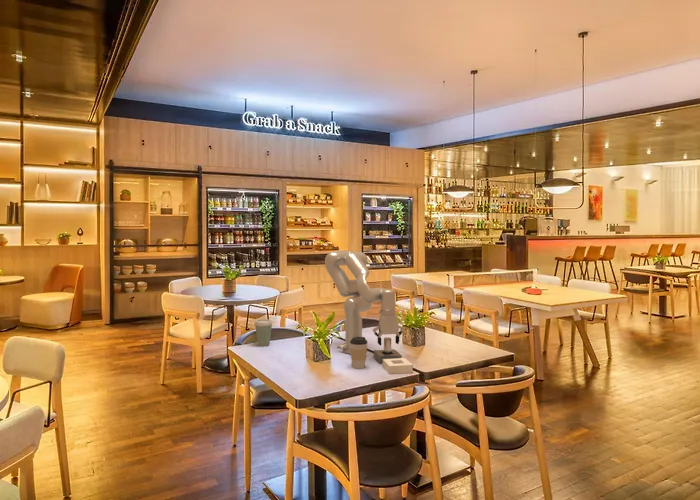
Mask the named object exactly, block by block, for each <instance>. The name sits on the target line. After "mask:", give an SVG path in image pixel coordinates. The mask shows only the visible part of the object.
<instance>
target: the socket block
mask: <svg viewBox="0 0 700 500" xmlns="http://www.w3.org/2000/svg"><path fill="white" fill-rule="evenodd" d="M413 365H414V364H412V362H410V361H409V360H408V359H407V358H405V357H402V358H395V359H383V364H381V366H382V368H383V369H384V370H385V371H386V372H387V373H388V374H389V375H397V374H398V375H400V374H413V372H414V371H413V370H414V369H413V367H414V366H413Z"/></svg>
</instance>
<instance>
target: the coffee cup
mask: <svg viewBox="0 0 700 500" xmlns="http://www.w3.org/2000/svg"><path fill="white" fill-rule="evenodd" d="M350 345H351V347H350V350H351V354H350V360H351V367H352V368H353V369H359V370H361V369H364V368H366V359H367V352H368V351H367V350H368V339H366V337H365V336H362V337H354V338H352V340H351V341H350Z"/></svg>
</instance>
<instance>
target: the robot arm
mask: <svg viewBox="0 0 700 500" xmlns="http://www.w3.org/2000/svg"><path fill="white" fill-rule="evenodd" d="M367 264H368V257H367V254H365V253H364V252H362V251H356V250H355V251H352V250H339V251H338V250H337V251H336V250H335V251H331V252H329V253H328V254H327V255H326V256H325V258H324V266H325V269H326V272H327V274H328V275H329V276H330V278H331V279H332V282H333V284H334V286H335V287H336V290H337V292H338V293H339V295H340V296H341V297H343V298H346V299H345V300H344V303H343V309H344V315H345V316H344V317H345V326H344V327H345V328H344V329H345V335H344V337H345V339H344V342H343V344H337V345H336V348H337V349H340V350H342V352H343V353H344V354H348V355H351V350H350V347H351V345H350V341H351V340H352V338H354V337H363V319H362V316H361V314H360V313H363V312H368V311H369V310H370V309H371V308H372V304H373V303H378V302H379V303H381V304H380V306H381V307H380V310H378V314H380V315H379V320H378V325H377V326H376V327H374V328H373V329H372V332H373V334H374V335H375V336H376V337H377V344H378V345H379V346H382V336H383V335H395V344H397V345H399V343H400V337H401V335H402V334H403V332H404V330H405V328H404V327H403V326H401V325H399V319H398V315H397V314H396V291H395V289H391V288H390V289H389V288H384V287H375V288H373V287H372V288H370V286H369V285H368V283H367V281H366V279H367V278H368V276H369V275H370V269H368V267H367ZM341 266H346V267H347V268H348V269H349V271H350V272H351V274H352V275H353V276H354V278H355V279H350V278H349V277H348V275H347V273H346V272H345V270H344V269H342V267H341ZM399 329H400V330H399ZM377 331H378V332H377Z"/></svg>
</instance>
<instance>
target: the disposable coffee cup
mask: <svg viewBox="0 0 700 500" xmlns="http://www.w3.org/2000/svg"><path fill="white" fill-rule="evenodd" d="M254 326H255V333H256V339H257V345H258V346H259V347H268V346H270V343H271V334H272V327H273V321H272V320H271V319H266V318H260V319H256V320H255V321H254Z"/></svg>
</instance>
